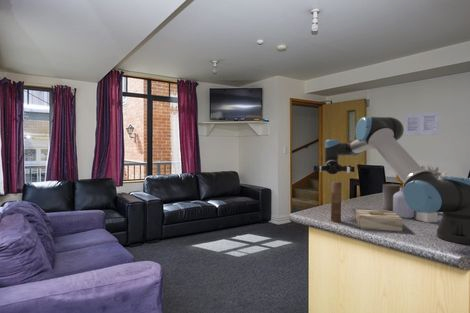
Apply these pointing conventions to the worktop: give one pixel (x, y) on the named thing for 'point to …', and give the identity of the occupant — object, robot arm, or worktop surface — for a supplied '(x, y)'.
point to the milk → (427, 217)
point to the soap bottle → (401, 203)
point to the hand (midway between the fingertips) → (334, 170)
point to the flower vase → (435, 172)
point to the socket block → (378, 220)
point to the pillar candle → (389, 195)
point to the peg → (336, 201)
